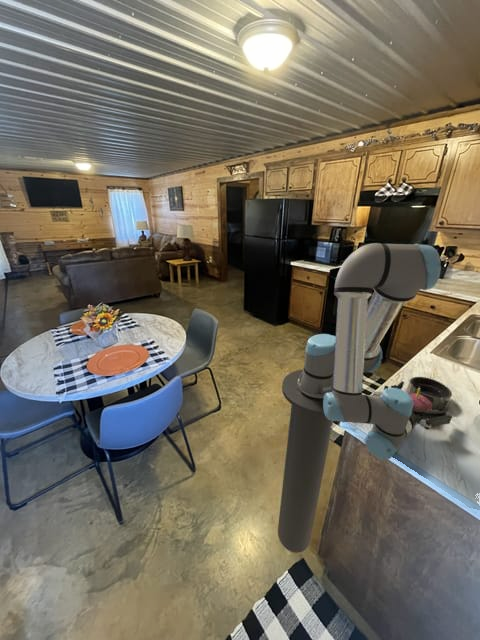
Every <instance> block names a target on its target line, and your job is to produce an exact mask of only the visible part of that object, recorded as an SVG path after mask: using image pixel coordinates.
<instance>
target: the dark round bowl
mask: <svg viewBox="0 0 480 640" xmlns="http://www.w3.org/2000/svg"><path fill="white" fill-rule="evenodd" d="M419 387H420V393H419V394H421V395H423V396H425V397H426V398H427V399H428V400H429V401H430V402H431V403H432V409H437V410H439V408H440V407H441V406H442V404H443V403H444V401H445V400H447V401H448V402H447V405H446V408H448V405H449V403H450V401H451V399H452V396H453V392H452V390H451V389H450V388H449V387H448V386H446V385H445V384H444V383H442V382H440V381H438V380H436V379H433V378H429V377H426V376H413V377H411V378H410V379H409V382H408V384H407V388H406V393H408V394H411V393H415V394H417V392H418V388H419Z"/></svg>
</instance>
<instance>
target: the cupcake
mask: <svg viewBox="0 0 480 640" xmlns="http://www.w3.org/2000/svg"><path fill="white" fill-rule="evenodd" d="M419 393H420V387H419V388H418V392H417V394H415V393H411V394H409V395H410V396H411V398H412V399H413V402H414V404H413V407H414V408H416V409H422V410H423V411H433V408H432V403H431V402H430V401H429V400H428V399H427V398H426V397H425V396H423V395H421V394H419Z"/></svg>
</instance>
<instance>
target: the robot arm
mask: <svg viewBox="0 0 480 640" xmlns="http://www.w3.org/2000/svg"><path fill="white" fill-rule="evenodd" d="M440 257H441V256H440V254H439V252H438V251H437V249H436V248H435V247H434V246H432V245H430V244H419V243H413V244H409V243H408V244H406V243H380V242H373V243H368V244H364V245H362V246H359V248H357V249H355V250H354V251H352V252H351V254H349V255H348V257H347V258H345V260H344V262H343V263H342V265H341V267H340V268H339V270H338V272H337V275H336V277H335V282H334V289H333V290H334V292H333V295H334V296H335V297H336V298H337V305H336V306H337V307H336V323H335V324H336V326H335V335H332V334H329V333H320V334H319V333H318V334H315V335H312V336H311V337H310V338H309V339H308V340H307V343H306V347H305V355H304V363H303V369H302V370H303V372H302V373H301V375H300V377H299V379H298V382H297V388H298V390H299V391H300V392H301V393H302V394H303V395H304V396H306V397H308V398H311V399H314V400H323V409H324V414H325V416H326V418H327V419H328V420H332V421H333V422H339V423H354V424H355V423H357V424H367V425H372V428H371V430H370V431H369V432H367V435H366V436H365V438H364V444H365V447H366V449H367V450H368V452H369V453H370V454H371V455H373V456H374V457H375V458H377V459H380V460H381V461H382V460H383V461H388V460H390V459H391V458H393V456H394V455H396V454H397V451H398V450H399V448H400V447H401V446H402V444H403V443H404V442H405V440H406V439H407V438H408V436H410V434H411V433H412V431H413V429H415V427H416V426H417V425H418V424H421V425H422V426H424V427H423V428H424V430H427V431H429V430H430V429H431V428H435V427H438V426H444V425H447V424H450V423H451V421H452V419H453V416H452V415H451V414H447V413H448V411H449V408H448V407H446V405H447V402H448V401H447V400H445V401H444V403H443V404H442V406H441V407H440V408H439V409H438V410H431V411H423V410H422V409H416V408H414V407H413V404H414V402H413V399H412V398H411V396H410V395H409V394H408V393H407V391H405V390H403V387H404V385H405V381H403V380H401V381H400V382H399V383H398V384H397V385H396V384H393V385H390V387H389V386H388V385H384V387H383V390H382V392H381V394H380V395H371V394H363V388H364V387H363V386H364V385H363V384H364V373H374V372H376V371H377V370H378V369H380V366H381V364H382V360H383V350H382V347H381V345H380V344H381V342H382V340H383V339H384V337H385V334H387V332H388V330H389V329H390V327H391V326H392V324H393V322H394V320H395V319H396V317H397V316H398V314H399V312H400V311H401V310H402V307H403V306H404V304H405V303H408V302H411V301H413V300H414V299H415V298H416V297H417V294H418V293H419V292H420V290H422V291H427V290H431V289H433V288H434V287H435V286H436V285H437V283H438V281H439V279H440V276H441V271H442V267H441V263H442V261H441V258H440ZM373 291H374V292H373ZM333 376H334V377H333ZM447 406H448V405H447Z"/></svg>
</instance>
